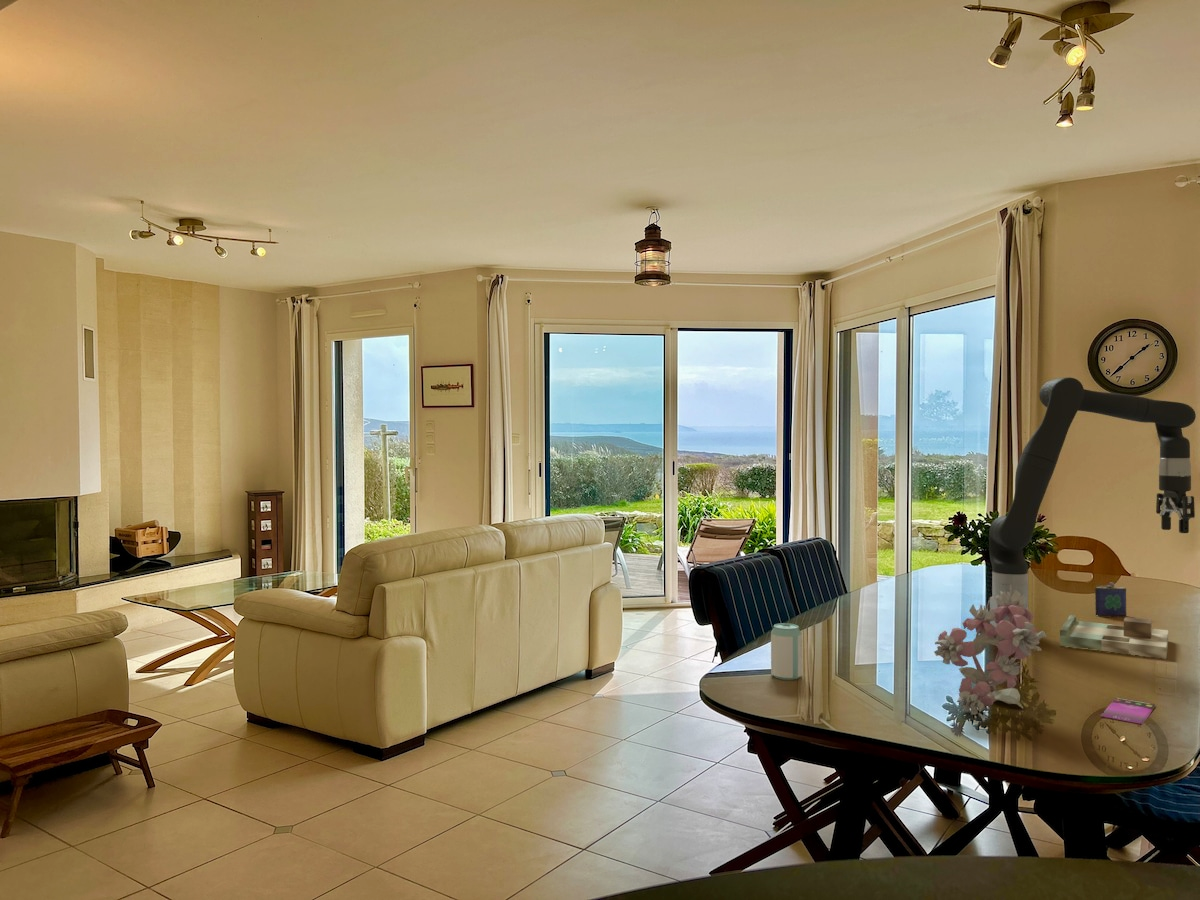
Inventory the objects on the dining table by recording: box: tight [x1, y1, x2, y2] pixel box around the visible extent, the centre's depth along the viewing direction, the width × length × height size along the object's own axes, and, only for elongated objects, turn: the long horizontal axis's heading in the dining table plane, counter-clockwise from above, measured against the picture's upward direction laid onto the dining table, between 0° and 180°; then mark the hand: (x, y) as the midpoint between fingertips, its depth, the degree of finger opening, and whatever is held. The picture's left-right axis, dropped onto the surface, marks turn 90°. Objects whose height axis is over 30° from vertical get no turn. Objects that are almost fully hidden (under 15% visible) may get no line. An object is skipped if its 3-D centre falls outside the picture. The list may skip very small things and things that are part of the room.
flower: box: [933, 585, 1048, 716], centre depth 174 cm, size 20×22×25 cm
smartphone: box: [1100, 697, 1156, 726], centre depth 170 cm, size 7×15×1 cm, turn 138°
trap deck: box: [1059, 614, 1169, 660], centre depth 226 cm, size 24×23×4 cm
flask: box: [1094, 581, 1127, 618], centre depth 262 cm, size 9×3×11 cm, turn 88°
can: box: [770, 622, 803, 681], centre depth 196 cm, size 7×7×12 cm
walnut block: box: [1123, 616, 1153, 639], centre depth 223 cm, size 6×6×4 cm
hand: (1174, 531), depth 236 cm, fingers open, 8 cm apart
